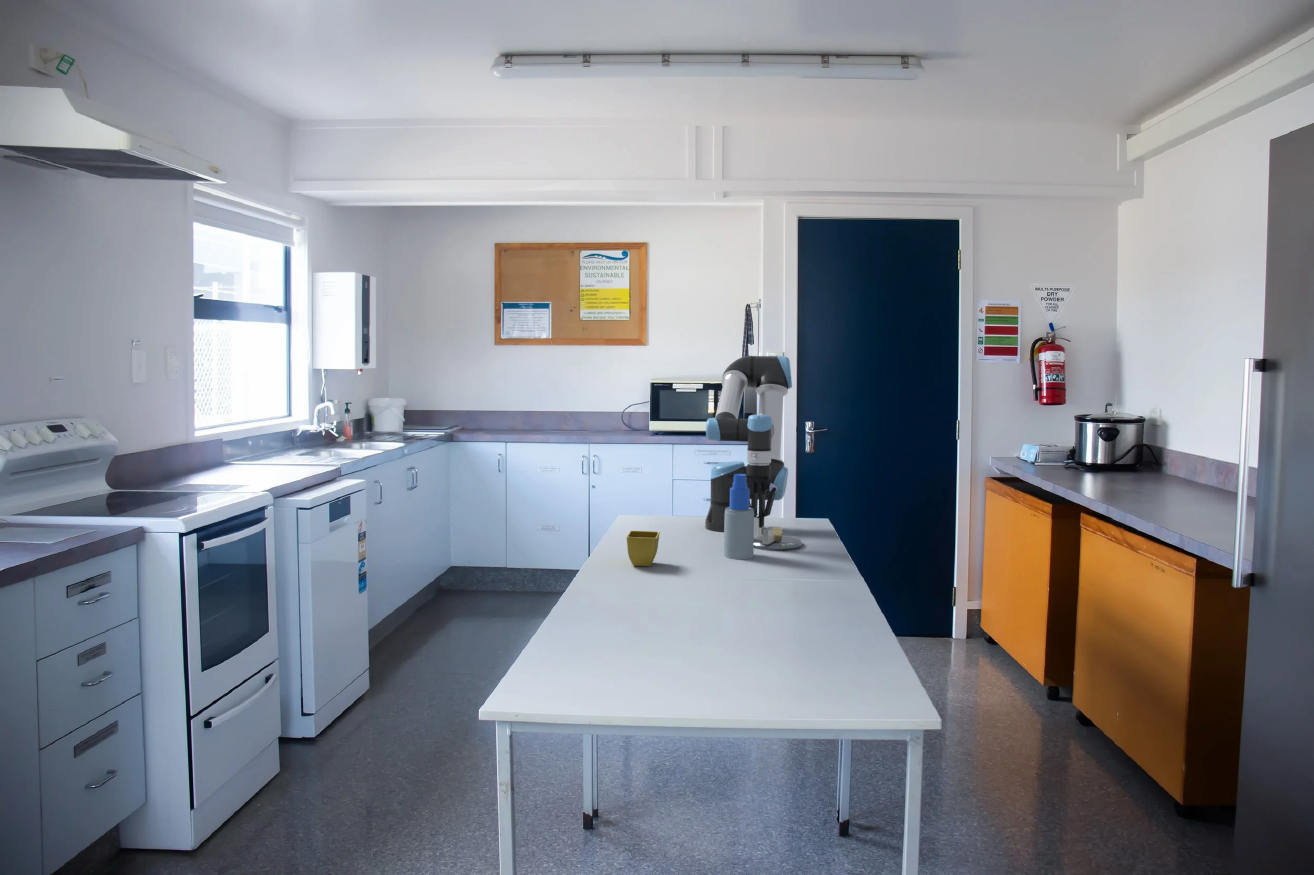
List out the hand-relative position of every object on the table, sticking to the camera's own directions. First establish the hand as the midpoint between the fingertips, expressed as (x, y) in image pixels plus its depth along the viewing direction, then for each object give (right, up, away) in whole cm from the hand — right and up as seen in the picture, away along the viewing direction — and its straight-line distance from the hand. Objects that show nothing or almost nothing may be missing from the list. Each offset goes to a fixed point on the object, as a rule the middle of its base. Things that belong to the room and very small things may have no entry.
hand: (757, 537), depth 257 cm
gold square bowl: (-36, -5, -23) cm, 43 cm away
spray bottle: (-7, -4, -12) cm, 14 cm away
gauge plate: (+6, -3, +3) cm, 8 cm away
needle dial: (+5, -2, +1) cm, 5 cm away
